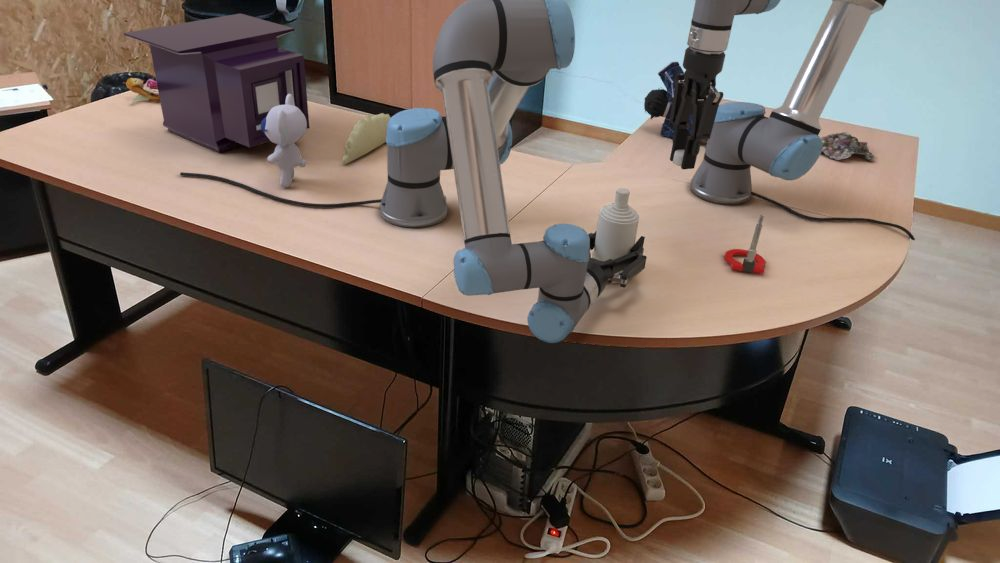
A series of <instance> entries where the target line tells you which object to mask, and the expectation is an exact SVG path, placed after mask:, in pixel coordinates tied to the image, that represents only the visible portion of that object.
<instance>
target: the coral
mask: <svg viewBox="0 0 1000 563" xmlns="http://www.w3.org/2000/svg"><path fill="white" fill-rule="evenodd" d="M820 138H821V140H822V143H823V145H822V148H821V150H822V151H821V153H824V155H825V156H827V157H828V158H830V159H832V160H835V161H839V160H840V161H841V160H844V159H848V158H851V157H852V155H853V154H854V155H857V154H859V155H860V156H861V158H863V159H865V160H866V161H871V162H874V160H875V159H874V158H875V155H874V154H873V153H872V152H871V151H870V149H869V147H868V142H867V141H859V139H858V137H855V136H853V135H852V134H851V133H849V132H848V131H846V132H844V131H843V132H836V133H830V134H827V135H826V136H822V137H820ZM873 157H874V158H873Z"/></svg>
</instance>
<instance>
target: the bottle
mask: <svg viewBox="0 0 1000 563" xmlns="http://www.w3.org/2000/svg"><path fill="white" fill-rule="evenodd" d="M630 194H631V191H630V190H629V189H628V188H623V187H620V188H617V189H616V190H615V198H614V202H612V203H610V204H607V205H604V206H603V207H602V208H600V210H599V211H598V212H599V213H598V217H597V218H598V219H597V225H596V230H595V232H596V238H595V245H594V248H593V250H592V251H593V252H592V258H594V259H597V260H599V261H606V260H609V259H612V260H614V259H617V258H619V257H622V256H624V255H627V254H629V253H630V251H631V248H632V247H633V246H634V245H635V243H636V239H637V233H638V227H639V221H640V215H639V213H638V211H637V210H636V209H634V208H633V207H632V206H630V205H629V198H630ZM619 273H620V272H618V273H616V274H614V275H617V274H619ZM611 284H618V283H617V282H612V283H611Z"/></svg>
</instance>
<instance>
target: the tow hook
mask: <svg viewBox="0 0 1000 563" xmlns="http://www.w3.org/2000/svg"><path fill="white" fill-rule="evenodd" d="M764 217H765V216H764V215H763V214H759V217H758V221H757V223H756V225H755V229H754V232H753V236H752V239H751V243H750V247H749V248H748V250H747V249H742V248H731V249H729V250H727V251H726V252H724V260H725V261H726V262H727V263H728V264H729V265H730V270H732V271H740V272H743V273H751V274H752V273H755V274H761V275H763V274H765V266H766V260H765V258H764V257H763V256H761V255H760V254H758V253H757V247H758V243H759V239H760V236H761V232H762V229H763V220H764ZM734 256H745V258H744V259H743V261H742V262H741V261H739V260H736V259H735V258H734Z"/></svg>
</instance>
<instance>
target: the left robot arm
mask: <svg viewBox="0 0 1000 563" xmlns="http://www.w3.org/2000/svg"><path fill="white" fill-rule="evenodd" d="M571 10H572V9H571V7H570V6H569V4H568V3H567V1H566V0H466V1H464V2H462V3H461V4H459V6H457V7H456V8H455V9H454V10H453V11H452V12H451V13H450V14H449V16H448V17H447V18H446V20H445V21H444V22H443V25H442V27H441V28H440V30H439V33H438V35H437V38H436V41H435V44H434V49H433V55H432V73H433V74H432V76H433V81H434V87H435V89H437V91H440V92H442V93H441V94H442V101H443V105H444V106H443V107H444V113H445V115H444V116H442V115H441V112H440V111H438V110H437V109H434V108H430V107H428V108H426V107H414V108H413V107H412V108H407V109H404V110H401V111H398V112H397V113H395V114H394V115H392V116H390V120H389V121H388V124H387V136H386V142H385V143H386V164H387V166H386V169H387V170H386V171H387V182H386V185H385V187H384V191H383V194H382V197H381V198H380V199H370V200H362V201H352V202H342V203H311V202H303V201H297V200H292V199H288V198H284V197H279V196H276V195H274V194H270V193H268V192H266V191H265V192H264V191H262V190H259V189H256V188H254V187H252V186H249V185H247V184H244V183H242V182H238V181H235V180H232V179H229V178H225V177H222V176H219V175H218V176H217V175H213V174H207V173H195V172H180V173H179V174H180V176H181V177H197V178H198V177H199V178H207V179H212V180H218V181H221V182H226V183H227V184H228V183H229V184H232V185H234V186H238V187H241V188H244V189H246V190H248V191H251V192H253V193H256V194H258V195H262V196H264V197H267V198H270V199H273V200H276V201H278V202H282V203H287V204H292V205H295V206H297V205H298V206H304V207H309V208H310V207H311V208H341V207H350V206H351V207H353V206H361V205H363V206H364V205H370V204H379V209H380V210H379V213H380V216H381V218H383V220H385V221H386V222H388V223H389V224H391V225H395V226H399V227H402V228H403V227H404V228H425V227H426V228H427V227H430V226H434V225H437V224H439V223H441V222H442V221H444V220H445V219H446V218H447V215H448V203H447V196H446V195H445V194H444V191H443V187H442V184H441V171H449V170H453V174H454V180H455V181H454V182H455V188H456V194H457V202H458V209H459V214H460V221H461V227H462V233H463V241H464V248H463V249H459V250H457V251H456V252H455V254H454V256H453V275H454V281H455V285H456V287H457V289H458V291H459V293H460V294H462V295H463V296H468V297H471V296H483V295H487V296H491V295H493V294H500V293H506V292H515V291H520V290H521V291H522V290H531V289H538V296H537V301H536V303H534V304H533V305H532V307H531V309H530V311H529V312H528V315H527V326H528V328H529V330H530V332H531V334H532V335H533V336H534V337H536V338H537V339H538V340H540V341H541V342H544V343H547V344H557V343H559V342H562V341H564V339H566V338H567V336H568V335H570V334H571V333H573V331H574V330H575V327H576V326H577V325H578V323H579V322H580V321H581V319H582V318H583V316H584V315H585V314H586V313H587V312H588V310H589V309H590V308H591V307H592V305H593V304H594V303H595V302H596V300H597V299H598V297H599V296H600V295H601V294H602V293H603V291H604V290H605V289H606V287H607V286H608V285H610V284H613V283H612V282H617V283H616V284H619V287H620V288H622V289H624V288H627V285H628V283H629V282H630V281H631V280H632V279H633V278H635V277H636V276H637V275H638V274H640V273H641V272H642V271H643V270H645V268H646V264H647V259H648V257H647V255H645V254H644V250H645V248H644V244H645V238H646V236H644V235H641V236H640V237H639V238H638V239H637V240H636V241H635V244H634V246H633V247H632V248H631V251H630V253H629V254H627V255H624V256H622V257H619V258H617V259H614V260H612V259H609V260H606V261H599V260H597V259H594V258H593V257H592V254H591V251H594V245H595V238H596V231H595V232H590V233H588V232H587V231H585V229H584V228H582V227H580V226H578V225H575V224H573V223H572V224H571V223H564V222H563V223H555V224H553V225H551V226H549V227H547V228H546V229H545V232H544V235H543V237H542V240H538V241H531V242H521V243H512V238H511V229H510V222H509V216H508V209H507V203H506V195H505V190H504V183H503V178H502V176H503V175H502V170H501V169H502V168H501V165H503V164H504V163H506V162H507V160H508V159H509V156H510V154H511V151H512V148H511V147H512V146H513V130H512V126H511V122H510V120H511V118H512V117H513V115H514V113H515V112H516V110H517V109H518V107H519V105H520V103H521V102H522V100H523V99H524V97H525V95H526V94H527V92H528V90H529V89H530V87H533V86H536V85H539V83H541V82H542V81H543V80H544V79H545V77H546V76H547V75H548V73H549V72H550V70H552V69H553V70H555V69H556V70H561V69H566V68H568V67H569V66H570V65H571V63H572V62H573V60H574V59H573V58H574V54H575V49H576V31H575V30H576V29H575V21H574V18H573V13H572V11H571ZM618 272H620V273H619V274H617V275H614V274H616V273H618Z"/></svg>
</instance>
